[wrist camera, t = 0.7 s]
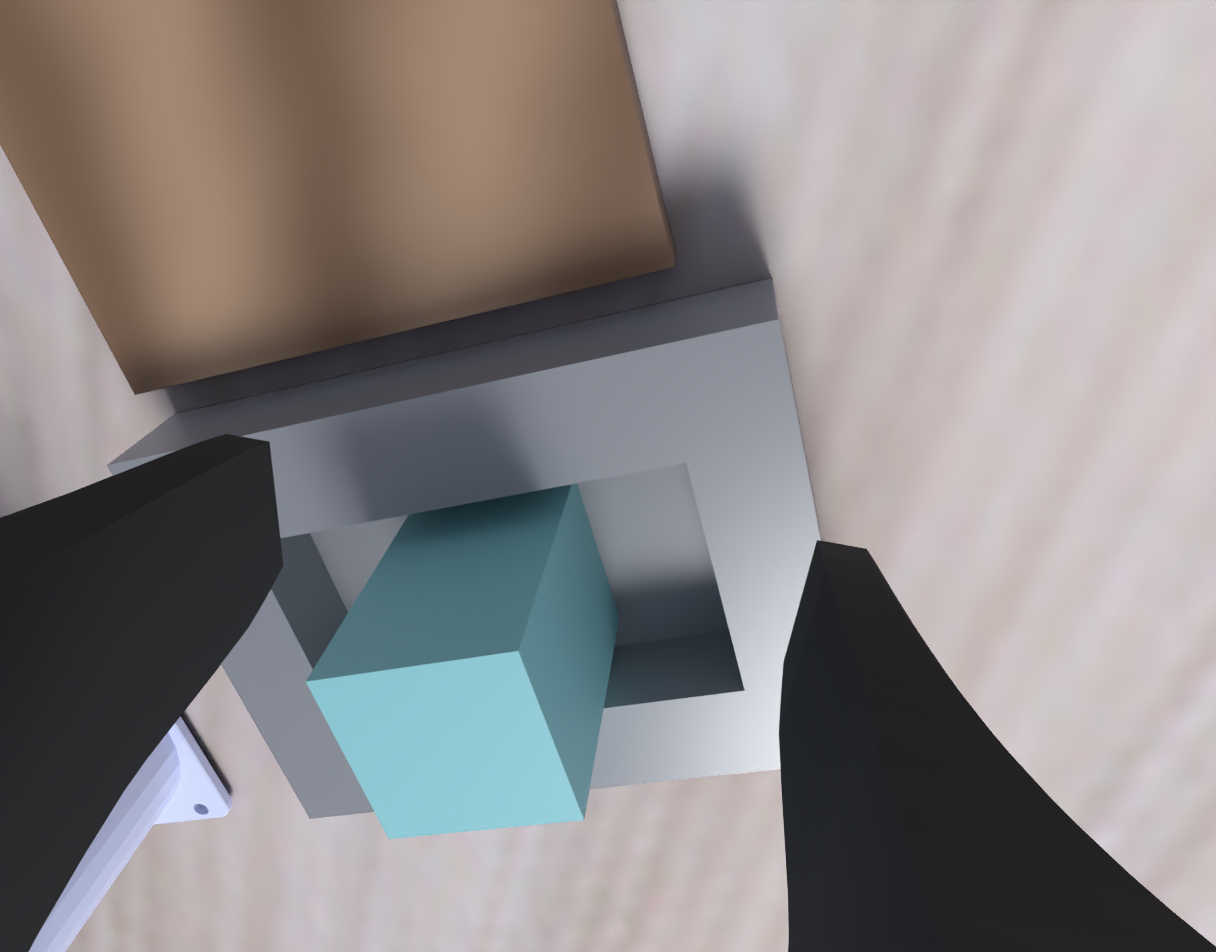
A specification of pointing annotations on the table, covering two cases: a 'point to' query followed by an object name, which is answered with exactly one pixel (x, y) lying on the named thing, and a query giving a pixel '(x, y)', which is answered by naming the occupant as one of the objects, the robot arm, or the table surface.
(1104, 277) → the table surface
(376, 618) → the teal block
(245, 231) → the walnut board
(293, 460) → the pocket plate
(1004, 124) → the table surface
